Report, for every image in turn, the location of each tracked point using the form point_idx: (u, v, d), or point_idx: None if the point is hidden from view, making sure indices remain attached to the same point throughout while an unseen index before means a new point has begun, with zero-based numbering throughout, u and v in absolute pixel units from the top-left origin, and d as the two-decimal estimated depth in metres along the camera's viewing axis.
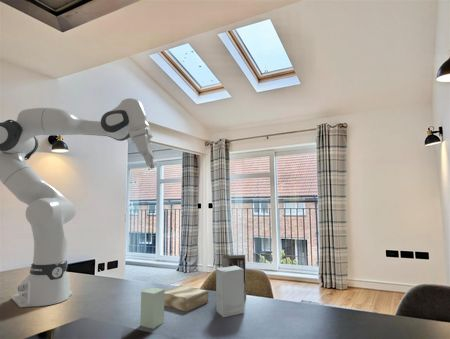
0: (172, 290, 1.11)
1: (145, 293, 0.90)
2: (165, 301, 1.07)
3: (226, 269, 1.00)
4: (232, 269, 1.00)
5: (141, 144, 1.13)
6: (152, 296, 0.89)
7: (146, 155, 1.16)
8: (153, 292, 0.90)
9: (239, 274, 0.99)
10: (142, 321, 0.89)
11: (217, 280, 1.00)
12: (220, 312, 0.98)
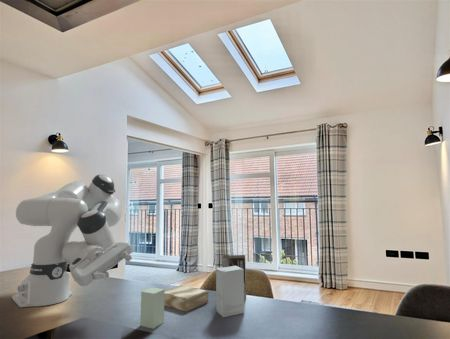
0: (172, 290, 1.12)
1: (145, 293, 0.90)
2: (165, 301, 1.07)
3: (226, 269, 1.00)
4: (232, 269, 1.00)
5: (78, 280, 0.94)
6: (152, 296, 0.89)
7: (94, 276, 0.94)
8: (153, 292, 0.90)
9: (239, 274, 0.99)
10: (142, 321, 0.89)
11: (217, 280, 1.00)
12: (220, 312, 0.98)
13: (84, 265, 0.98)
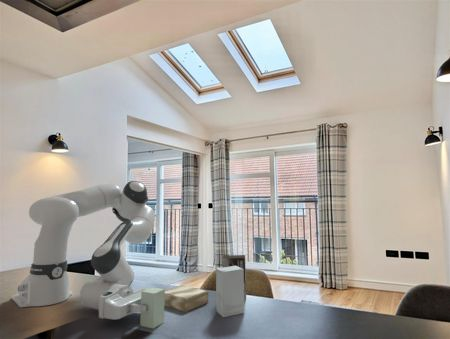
0: (172, 290, 1.12)
1: (145, 293, 0.90)
2: (165, 301, 1.07)
3: (226, 269, 1.00)
4: (232, 269, 1.00)
5: (109, 312, 0.86)
6: (152, 296, 0.89)
7: (132, 307, 0.88)
8: (153, 292, 0.90)
9: (239, 274, 0.99)
10: (142, 321, 0.89)
11: (217, 280, 1.00)
12: (220, 312, 0.98)
13: (115, 299, 0.91)
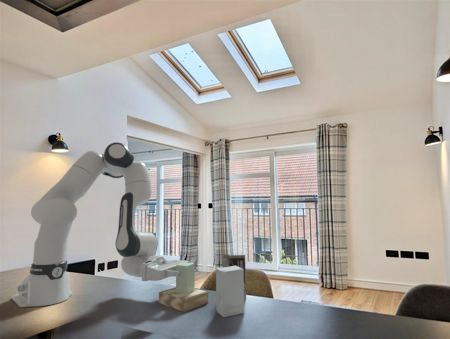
0: (172, 290, 1.12)
1: (179, 266, 1.09)
2: (165, 301, 1.08)
3: (226, 269, 1.00)
4: (232, 269, 1.00)
5: (152, 274, 1.05)
6: (185, 268, 1.08)
7: (167, 273, 1.07)
8: (186, 265, 1.09)
9: (239, 274, 0.99)
10: (177, 289, 1.09)
11: (217, 280, 1.00)
12: (220, 312, 0.98)
13: (155, 266, 1.11)
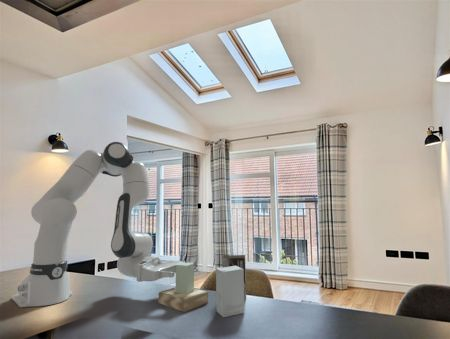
0: (172, 290, 1.12)
1: (179, 266, 1.09)
2: (164, 301, 1.08)
3: (226, 269, 1.00)
4: (232, 269, 1.00)
5: (146, 275, 1.06)
6: (185, 268, 1.08)
7: (161, 274, 1.08)
8: (186, 265, 1.09)
9: (239, 274, 0.99)
10: (177, 289, 1.09)
11: (217, 280, 1.00)
12: (220, 312, 0.98)
13: (149, 266, 1.12)
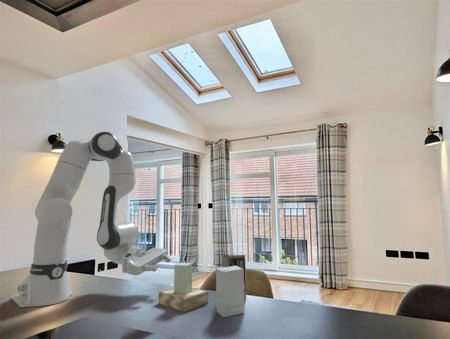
0: (172, 290, 1.12)
1: (178, 266, 1.09)
2: (164, 301, 1.08)
3: (226, 269, 1.00)
4: (232, 269, 1.00)
5: (131, 270, 1.15)
6: (184, 268, 1.08)
7: (145, 268, 1.16)
8: (185, 265, 1.09)
9: (239, 274, 0.99)
10: (175, 289, 1.08)
11: (217, 280, 1.00)
12: (220, 312, 0.98)
13: (134, 259, 1.20)
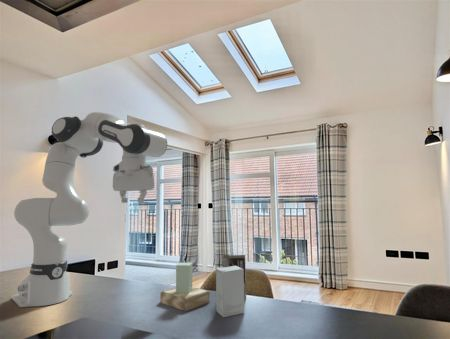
0: (174, 289, 1.12)
1: (180, 266, 1.09)
2: (166, 300, 1.08)
3: (226, 269, 1.00)
4: (232, 269, 1.00)
5: None
6: (187, 267, 1.09)
7: None
8: (187, 265, 1.10)
9: (239, 274, 0.99)
10: (177, 289, 1.08)
11: (217, 280, 1.00)
12: (220, 312, 0.98)
13: (120, 175, 1.14)
